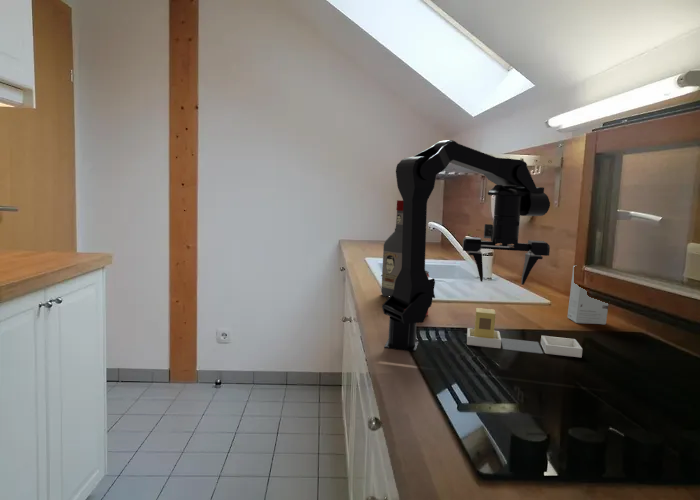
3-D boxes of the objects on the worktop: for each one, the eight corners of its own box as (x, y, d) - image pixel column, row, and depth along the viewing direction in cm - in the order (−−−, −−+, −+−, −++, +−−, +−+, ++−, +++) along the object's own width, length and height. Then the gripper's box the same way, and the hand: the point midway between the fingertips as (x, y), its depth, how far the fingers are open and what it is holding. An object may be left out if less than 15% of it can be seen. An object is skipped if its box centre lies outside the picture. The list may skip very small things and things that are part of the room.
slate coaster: (543, 355, 101) (543, 353, 101) (503, 351, 103) (503, 348, 102) (537, 344, 108) (537, 342, 108) (500, 340, 110) (500, 338, 110)
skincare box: (576, 323, 128) (581, 268, 126) (566, 317, 134) (571, 264, 132) (607, 325, 128) (614, 269, 126) (596, 319, 134) (602, 266, 132)
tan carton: (492, 345, 105) (495, 313, 104) (474, 343, 106) (476, 312, 105) (492, 339, 109) (494, 309, 108) (473, 337, 110) (476, 307, 109)
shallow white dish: (500, 350, 103) (501, 340, 103) (466, 346, 105) (467, 336, 104) (498, 340, 110) (499, 331, 110) (466, 337, 112) (467, 327, 111)
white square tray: (581, 359, 99) (582, 348, 99) (545, 355, 101) (546, 344, 101) (574, 348, 106) (575, 339, 106) (540, 345, 108) (541, 335, 108)
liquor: (395, 291, 159) (400, 200, 155) (417, 296, 153) (423, 201, 149) (377, 295, 152) (382, 199, 149) (400, 300, 146) (405, 201, 143)
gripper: (543, 216, 116) (537, 279, 118) (464, 212, 120) (460, 274, 122) (552, 218, 106) (546, 288, 108) (465, 214, 109) (461, 282, 111)
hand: (501, 282), depth 112 cm, fingers open, 9 cm apart
